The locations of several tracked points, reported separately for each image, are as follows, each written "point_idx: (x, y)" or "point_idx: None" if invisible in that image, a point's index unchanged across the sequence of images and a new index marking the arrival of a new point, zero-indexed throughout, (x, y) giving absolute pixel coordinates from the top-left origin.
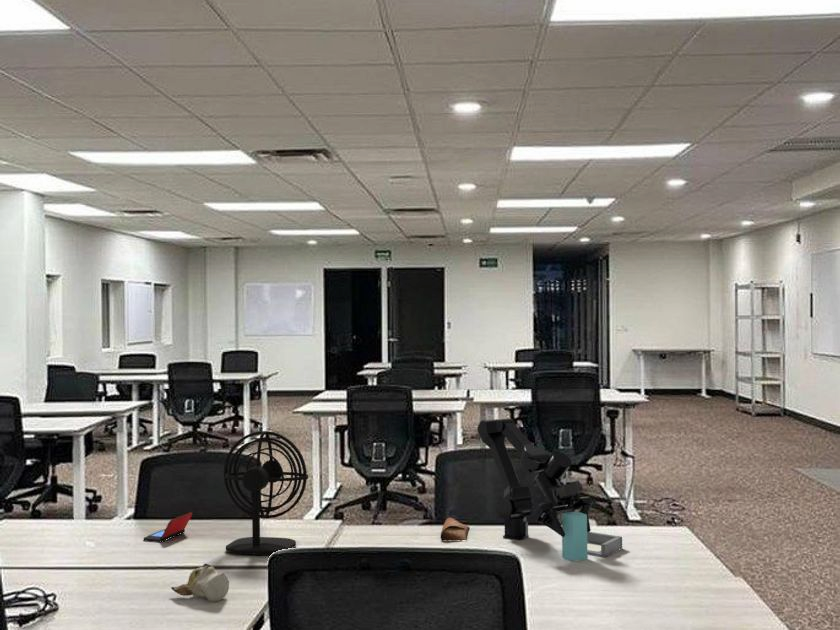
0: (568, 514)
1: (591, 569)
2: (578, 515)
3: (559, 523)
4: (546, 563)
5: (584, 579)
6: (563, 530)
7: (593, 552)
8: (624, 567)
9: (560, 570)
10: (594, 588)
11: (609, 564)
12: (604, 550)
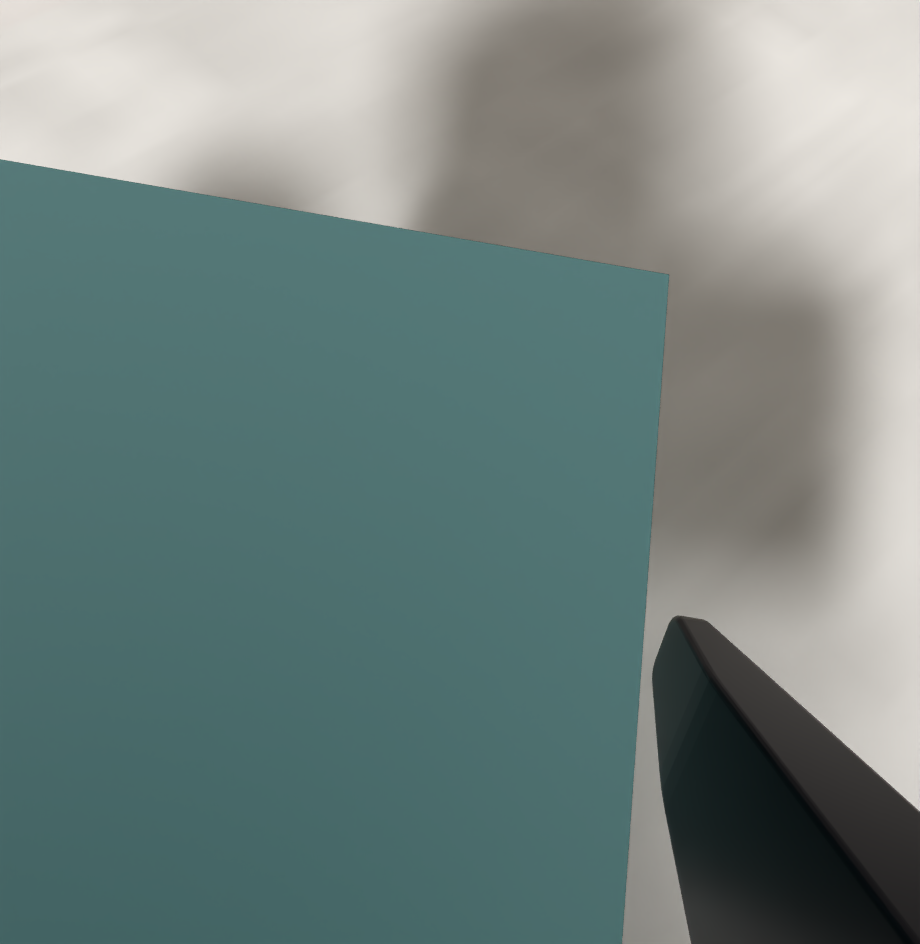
0: (475, 771)
1: None
2: (278, 267)
3: (854, 837)
4: None
5: (823, 172)
6: (714, 670)
7: None
8: (281, 142)
9: (835, 465)
10: (900, 21)
11: None
12: None
